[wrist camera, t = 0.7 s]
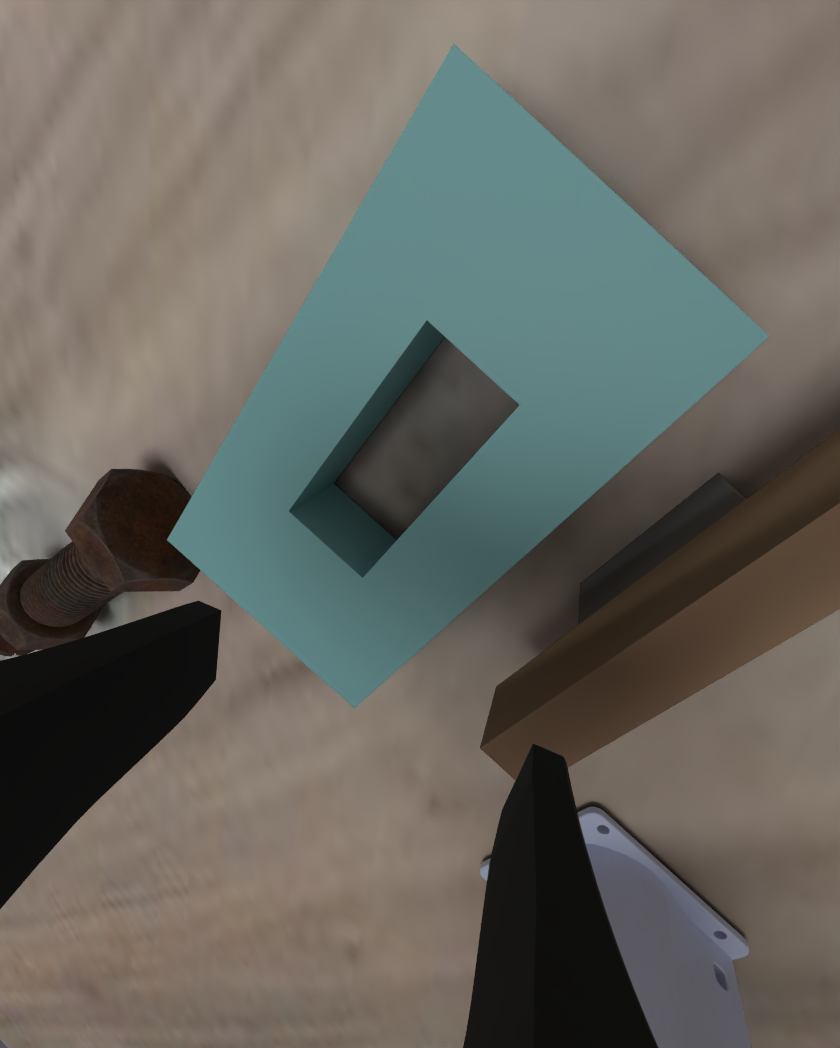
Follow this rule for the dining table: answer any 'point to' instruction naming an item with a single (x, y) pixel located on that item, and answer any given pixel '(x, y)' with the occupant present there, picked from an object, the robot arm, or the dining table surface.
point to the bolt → (97, 562)
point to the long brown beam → (679, 612)
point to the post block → (491, 344)
